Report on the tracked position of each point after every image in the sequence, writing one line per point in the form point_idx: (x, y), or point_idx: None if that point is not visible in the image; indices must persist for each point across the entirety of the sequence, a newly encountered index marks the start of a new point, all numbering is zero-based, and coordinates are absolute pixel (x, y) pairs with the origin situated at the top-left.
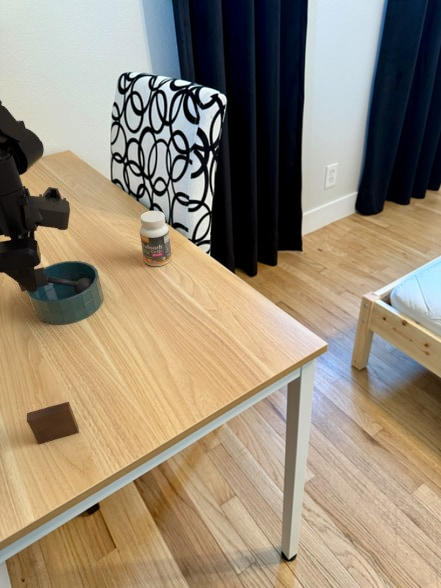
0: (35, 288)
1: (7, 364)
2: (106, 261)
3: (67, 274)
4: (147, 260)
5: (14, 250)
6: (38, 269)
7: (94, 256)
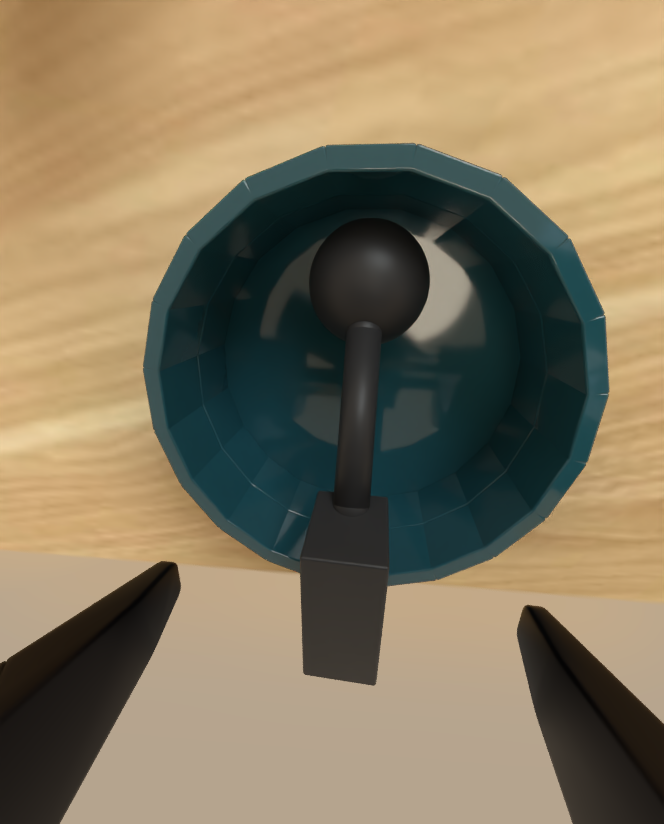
0: (563, 632)
1: (619, 594)
2: (60, 136)
3: (204, 365)
4: None
5: None
6: (318, 586)
7: (7, 204)
